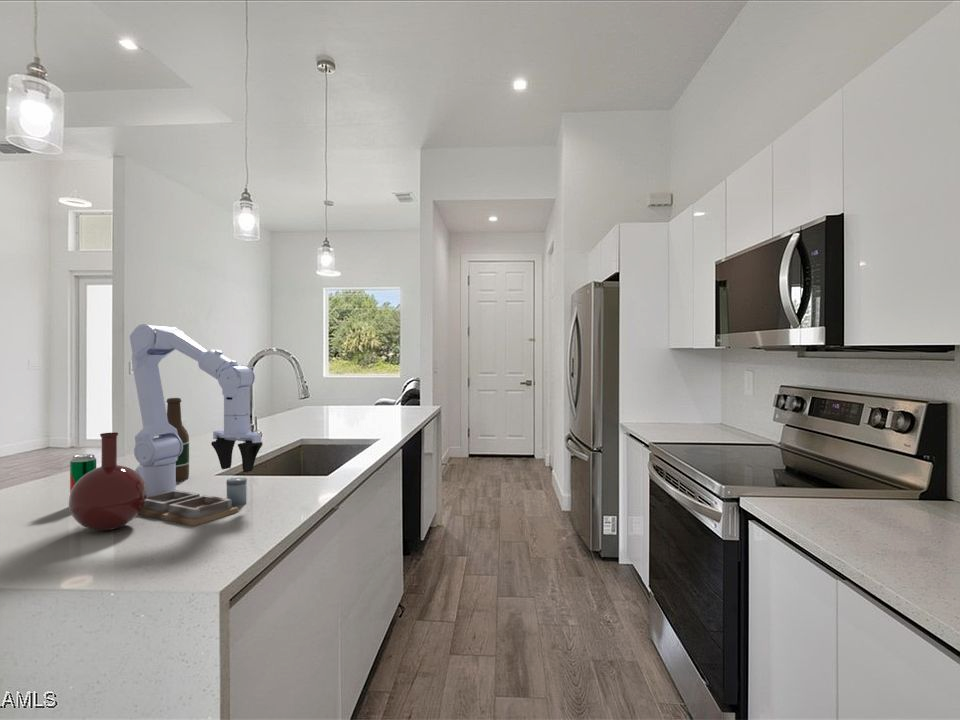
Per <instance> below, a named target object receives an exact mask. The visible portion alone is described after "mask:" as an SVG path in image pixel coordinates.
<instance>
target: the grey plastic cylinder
mask: <svg viewBox="0 0 960 720" xmlns="http://www.w3.org/2000/svg"><path fill="white" fill-rule="evenodd" d="M247 481H248V479H247V478H246V477H242V476H241V477H240V476H239V477H232V478H228V479H227V480H226V499H231V500H232V507H241V506H245V505H247V498H248V497H247Z"/></svg>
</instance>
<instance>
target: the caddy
mask: <svg viewBox="0 0 960 720" xmlns="http://www.w3.org/2000/svg"><path fill="white" fill-rule="evenodd" d="M236 513H239V506H232V500H231V499H227V498H224V497H218V496H214V495H209V494H204V495H201V496H200V493H195V492H190V491H185V490H180V489H179V490H178V489H176V490H172V491H168V492H164V493H160V494H156V495H152V496H148V497H146V501H145V504H144V506H143V508H142V510H141V511H140V512H139V514H138V515H141V516H145V517H150V518H154V519H159V520H164V521H169V522H173V523H178V524H184V525H187V526H194V527H196V526H199V525H203V524H205V523H207V522H211V521H214V520H218V519H221V518H223V517H227V516H230V515H232V514H236Z"/></svg>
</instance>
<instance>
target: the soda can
mask: <svg viewBox="0 0 960 720" xmlns="http://www.w3.org/2000/svg"><path fill="white" fill-rule="evenodd" d="M96 468H97V458H96V457H95V454H91V453H90V454H87V453H86V454H79V455H73V456H72V457H71V460H70V461H69V494H70V493H71V491H72V489H73V487H74V485H75V484H76V482H77V481H78V480H79V479H80V478H81V477H82V476H84V475H85V474H86V473H88V472H90V471H91V470H94V469H96Z"/></svg>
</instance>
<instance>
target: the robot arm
mask: <svg viewBox="0 0 960 720" xmlns="http://www.w3.org/2000/svg"><path fill="white" fill-rule="evenodd" d="M129 341H130V348H131V351H132V353H131V364H132V366H131V367H132V370H133V376H134V382H135V383H134V384H135V388H136V394H137V399H138V400H137V401H138V405H139V406H138V407H139V411H140V415H141V416H140V417H141V422H142V429H141V430H140V431H139V432H138V433H137V434H136V435H135V436H134V441H135V445H134V450H133V453H134V454H133V455H134V457H135V460H136V461H137V462H138V463H139V465H137V467H136V468H135V469H134V471H136V472H137V473H138V474H139V475H140V476H141V477H142V479H143V480H144V482H145V485H146V489H147V496H146V497H148V496H152V495H156V494H160V493H164V492H168V491H172V490H177V487H176V485H177V484H176V483H177V482H176V462H175V461H177V460H178V456H180V454H181V453H182V450H183V443H182V440H181V439H180V437H179V436H178V432H177V429H176V428H175V427H173V426H172V425H170V424H169V423H168V418H167V406H166V402H165V397H164V390H163V385H162V379H161V373H160V369H159V364H160V362H161V361H162V360H163V359H164V358H166V357H167V356H169V355H170V354H171V353H173V351H175V350H177V351H178V352H180V353H182V354H183V355H185V356H187V357H189V358H191V359H192V360H194V361H196V362H197V364H198V367H199V370H201V371H203V372H205V373H206V374H208V375H209V376H211V377H212V378H214V379H216V380H217V382H218V384H219V386H220V389H221V391H222V393H221V394H222V396H223V430H219V429H218V430H213V432H212V433H213V434H212V435H213V437H212V438H213V439H212V440H213V441H211V443H210V444H211V446H212V447H213V449H214V451H215V452H216V455H217V458H218V461H219V464H220V468H221V470H227V469H231V467H232V461H233V453H234V452H233V450H234V447H235V444H236V441H238V442H240V443H238V444H237V447H238V449H239V451H240V456H241V464H242V465H241V466H242V472H243V473H249V472H252V471H253V469H254V465H255V463H256V458H257V456H258V453H259V452H260V450H261V448H262V447H263V442H262V434H261V433H257V432H253V431H250V430H251V429H250V424H251V423H250V422H251V421H250V419H251V418H250V416H251V415H250V411H251V410H250V406H251V405H250V404H251V403H250V401H251V400H250V399H251V398H250V396H251V395H250V392H251V389H250V388H251V387H252V386H253V384H254V383H255V379H256V377H255V372H254V371H253V369H252V368H251V367H250V366H249V365H246V364H245V365H243V364H242V365H239V364H238V362H237V361H236V360H234V359H230V358H229V357H227V356H226V355H223V353H224V352H223V351H222V350H220V349H208V350H207V349H205V348H204V347H203V346H201V345H200V344H198V343H197V342H196V341H195V340H194V339H191V337H189V336H187V335H186V334H185V332H184V331H183V330H181V329H179V328H177V327H176V326H172V325H169V326H167V325H166V326H165V325H164V326H163V325H154V324H153V325H150V324H145V323H141V324H138V325H137V326H136V327H135V328H134V329H133V330H132V332H131V333H130V335H129ZM156 436H158V437H156ZM159 436H160V437H159Z"/></svg>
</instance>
